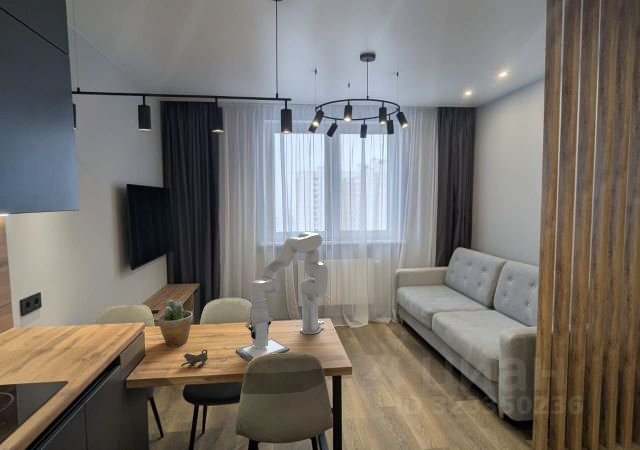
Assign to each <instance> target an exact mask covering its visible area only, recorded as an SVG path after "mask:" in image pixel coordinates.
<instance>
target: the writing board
mask: <svg viewBox="0 0 640 450" xmlns="http://www.w3.org/2000/svg"><path fill="white" fill-rule="evenodd" d="M289 351H290V347H288V346H287V345H285V344H282V343H281V342H279V341H278V340H275V339H274V338H272V337H271V338H268V346H266V347H262V348H258V349H257V348H256V347H255V346H254V344H253V343H252V344H249V345H245V346H243V347H239V348H237V349H235V352H236V353H237V354H239V355H240V356H241V357H243V358H244V359H245V360H247V361H248V362H249V361H251V360H252V359H253V358H255V357H257V356H260V355H266V354H272V353H280V354H282V352H283V353H285V352H289Z"/></svg>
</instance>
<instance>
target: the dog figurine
mask: <svg viewBox="0 0 640 450" xmlns="http://www.w3.org/2000/svg"><path fill="white" fill-rule="evenodd" d="M183 357H184V359H186V361H185V362H183V363H182V364H181V365H180V367H184V366H186V365H196V364H198V363H199V364H198V365H197V366H196V367H197V368H201V367H202V366H204V365H205V364H206V363H205V362H206V361H207V360H208V359H209V357H208V350H207V349H202V350H201V353H200V354H192V353H185V354H184V355H183ZM200 362H201V363H200Z"/></svg>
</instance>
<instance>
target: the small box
mask: <svg viewBox="0 0 640 450" xmlns="http://www.w3.org/2000/svg"><path fill="white" fill-rule="evenodd" d="M255 337H256V339H253V338H252V337H251V339H252V344H254V346H255V347H256V348H257V349H258V348H262V347H266V346H268V339H269V328H267V322H266V321H265V322H261V323H258V324H255Z"/></svg>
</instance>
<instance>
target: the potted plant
mask: <svg viewBox="0 0 640 450" xmlns="http://www.w3.org/2000/svg"><path fill="white" fill-rule="evenodd" d="M165 304H166V305H165V306H166V307H164V313H163V314H161V315H159V316H158V317H157V323H158V327H159V328H160V332H161V334H162V337H163V340H164V342H165V344H166V346H168V347H179V346H182V345H184V344H186V343H187V342H188V339H189V335H190V331H191V326H192V322H193V312H192V311H190V310H185V309H184V306H183V301H175V299H168V300H166V303H165Z"/></svg>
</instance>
